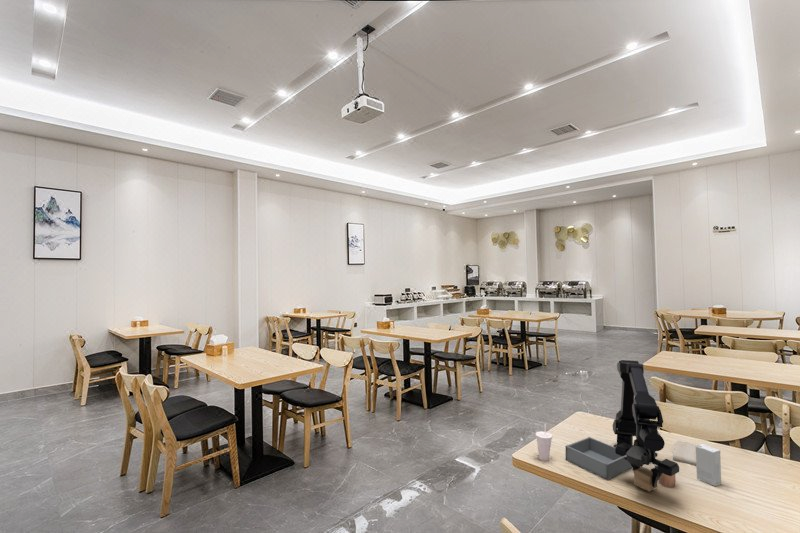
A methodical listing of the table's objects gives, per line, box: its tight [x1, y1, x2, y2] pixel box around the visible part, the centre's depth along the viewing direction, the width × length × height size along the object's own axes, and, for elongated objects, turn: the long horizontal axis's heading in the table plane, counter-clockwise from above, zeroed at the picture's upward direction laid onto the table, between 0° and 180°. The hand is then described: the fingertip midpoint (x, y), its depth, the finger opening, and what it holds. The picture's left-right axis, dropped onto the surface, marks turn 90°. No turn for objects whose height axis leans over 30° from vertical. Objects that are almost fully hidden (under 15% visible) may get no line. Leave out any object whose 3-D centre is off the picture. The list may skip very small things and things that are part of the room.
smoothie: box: [535, 423, 553, 462], centre depth 161 cm, size 6×6×14 cm
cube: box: [633, 466, 658, 492], centre depth 139 cm, size 5×5×5 cm
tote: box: [565, 436, 632, 481], centre depth 156 cm, size 15×17×6 cm
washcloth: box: [672, 440, 697, 467], centre depth 162 cm, size 12×18×3 cm, turn 141°
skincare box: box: [695, 443, 722, 487], centre depth 144 cm, size 6×4×12 cm
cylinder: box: [657, 473, 676, 489], centre depth 143 cm, size 5×5×7 cm
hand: (645, 482), depth 139 cm, fingers closed on cube, 5 cm apart
